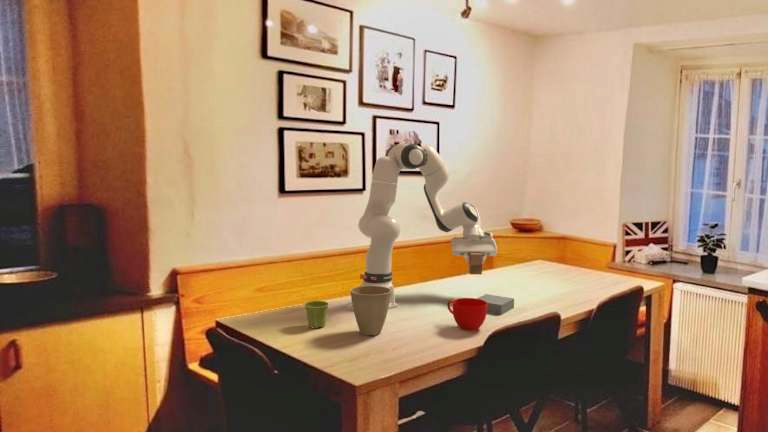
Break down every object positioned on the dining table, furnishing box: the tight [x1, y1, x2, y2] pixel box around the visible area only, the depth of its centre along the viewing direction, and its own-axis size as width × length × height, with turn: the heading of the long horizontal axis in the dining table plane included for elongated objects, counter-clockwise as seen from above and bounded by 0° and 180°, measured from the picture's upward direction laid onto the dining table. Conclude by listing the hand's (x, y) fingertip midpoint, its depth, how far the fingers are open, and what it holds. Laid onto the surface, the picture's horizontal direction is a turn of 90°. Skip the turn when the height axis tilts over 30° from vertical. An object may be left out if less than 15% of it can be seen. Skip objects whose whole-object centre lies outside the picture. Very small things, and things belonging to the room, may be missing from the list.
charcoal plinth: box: [476, 293, 515, 316], centre depth 240 cm, size 13×13×4 cm
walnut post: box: [468, 253, 483, 275], centre depth 253 cm, size 5×5×9 cm
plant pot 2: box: [349, 285, 391, 336], centre depth 207 cm, size 15×15×16 cm
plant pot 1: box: [303, 300, 330, 329], centre depth 214 cm, size 9×9×9 cm
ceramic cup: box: [446, 297, 488, 332], centre depth 214 cm, size 13×17×10 cm
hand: (475, 262), depth 252 cm, fingers closed on walnut post, 5 cm apart
